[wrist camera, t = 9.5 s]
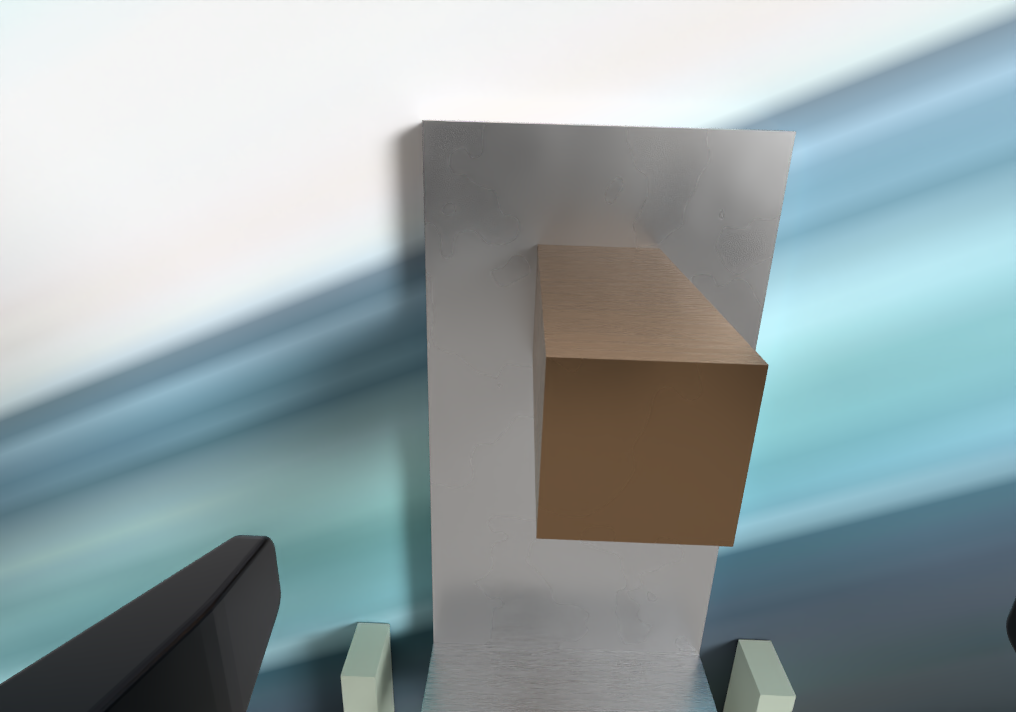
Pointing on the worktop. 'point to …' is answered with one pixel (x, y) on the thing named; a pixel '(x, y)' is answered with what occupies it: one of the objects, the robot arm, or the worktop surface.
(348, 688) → the corral
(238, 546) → the robot arm
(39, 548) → the worktop surface
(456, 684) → the metal bookend
